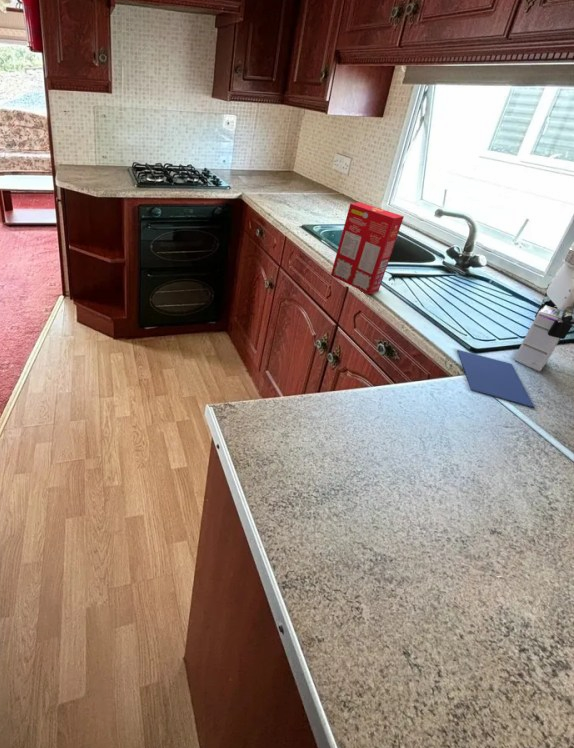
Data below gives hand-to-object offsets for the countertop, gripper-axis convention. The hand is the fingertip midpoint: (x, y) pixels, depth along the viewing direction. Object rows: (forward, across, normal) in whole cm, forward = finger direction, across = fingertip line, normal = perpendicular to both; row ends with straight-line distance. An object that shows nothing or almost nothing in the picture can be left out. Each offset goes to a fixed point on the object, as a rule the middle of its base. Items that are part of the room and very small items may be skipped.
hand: (548, 327), depth 97 cm
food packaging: (+11, +23, +43) cm, 50 cm away
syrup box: (+10, 0, 0) cm, 10 cm away
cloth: (+10, -12, +11) cm, 19 cm away
